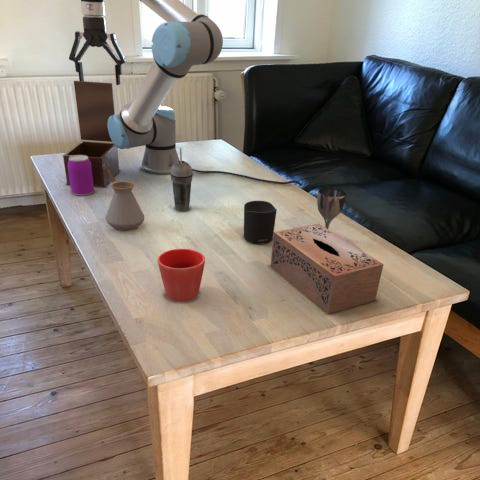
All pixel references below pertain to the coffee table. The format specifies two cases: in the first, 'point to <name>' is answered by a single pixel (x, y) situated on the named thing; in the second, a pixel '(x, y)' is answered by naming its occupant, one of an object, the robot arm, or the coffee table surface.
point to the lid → (94, 109)
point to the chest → (96, 160)
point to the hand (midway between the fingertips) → (100, 83)
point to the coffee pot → (123, 206)
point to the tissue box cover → (325, 267)
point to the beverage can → (80, 175)
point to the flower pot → (181, 273)
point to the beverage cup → (181, 184)
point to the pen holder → (259, 222)
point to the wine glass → (330, 203)
